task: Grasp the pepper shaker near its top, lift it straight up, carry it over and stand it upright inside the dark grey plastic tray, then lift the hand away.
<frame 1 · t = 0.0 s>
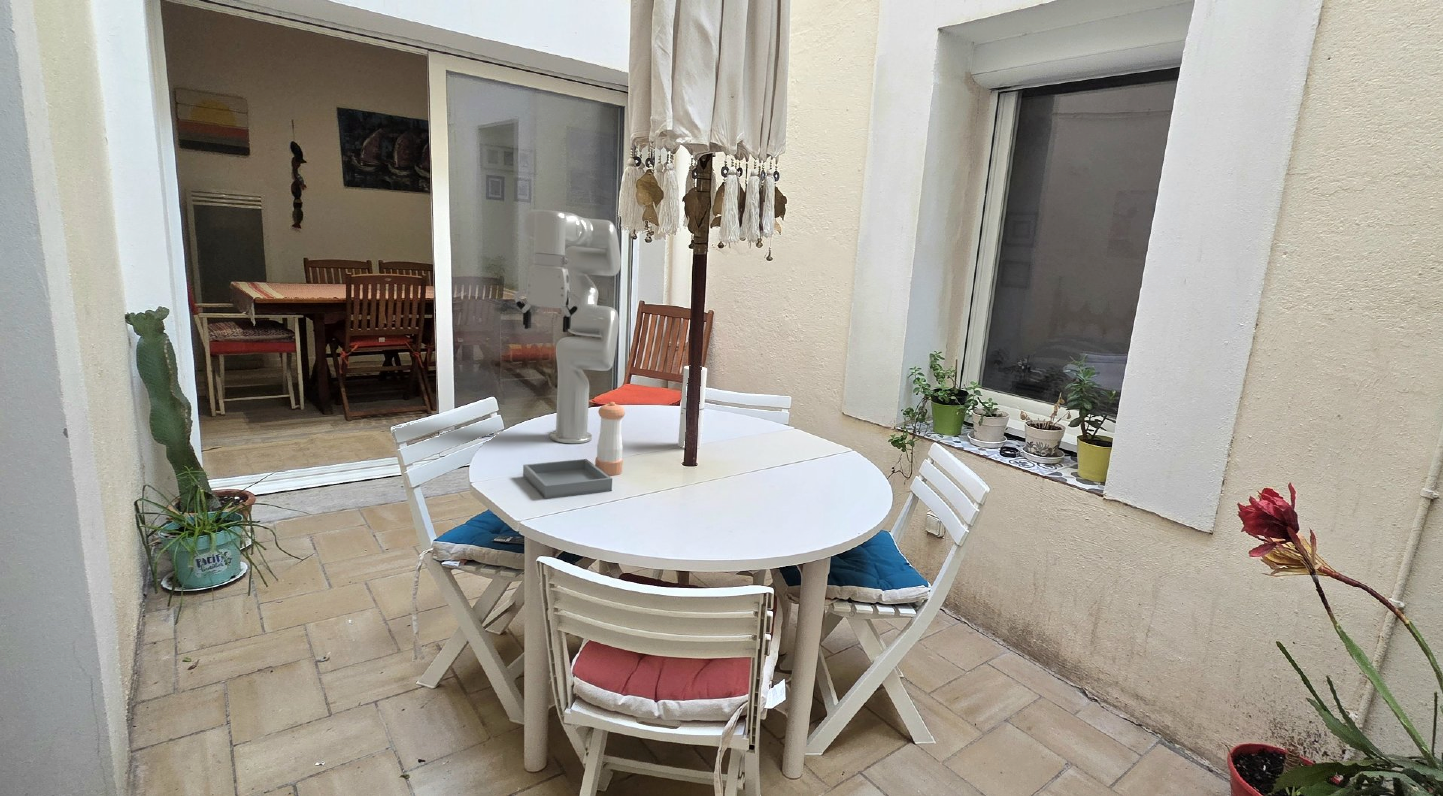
hand: (546, 330, 177), 37 cm above the table, tool pointing down, fingers open, 9 cm apart
pepper shaker: (608, 471, 189), on the table
tray: (566, 483, 177), on the table
cylindrical container: (689, 446, 220), on the table
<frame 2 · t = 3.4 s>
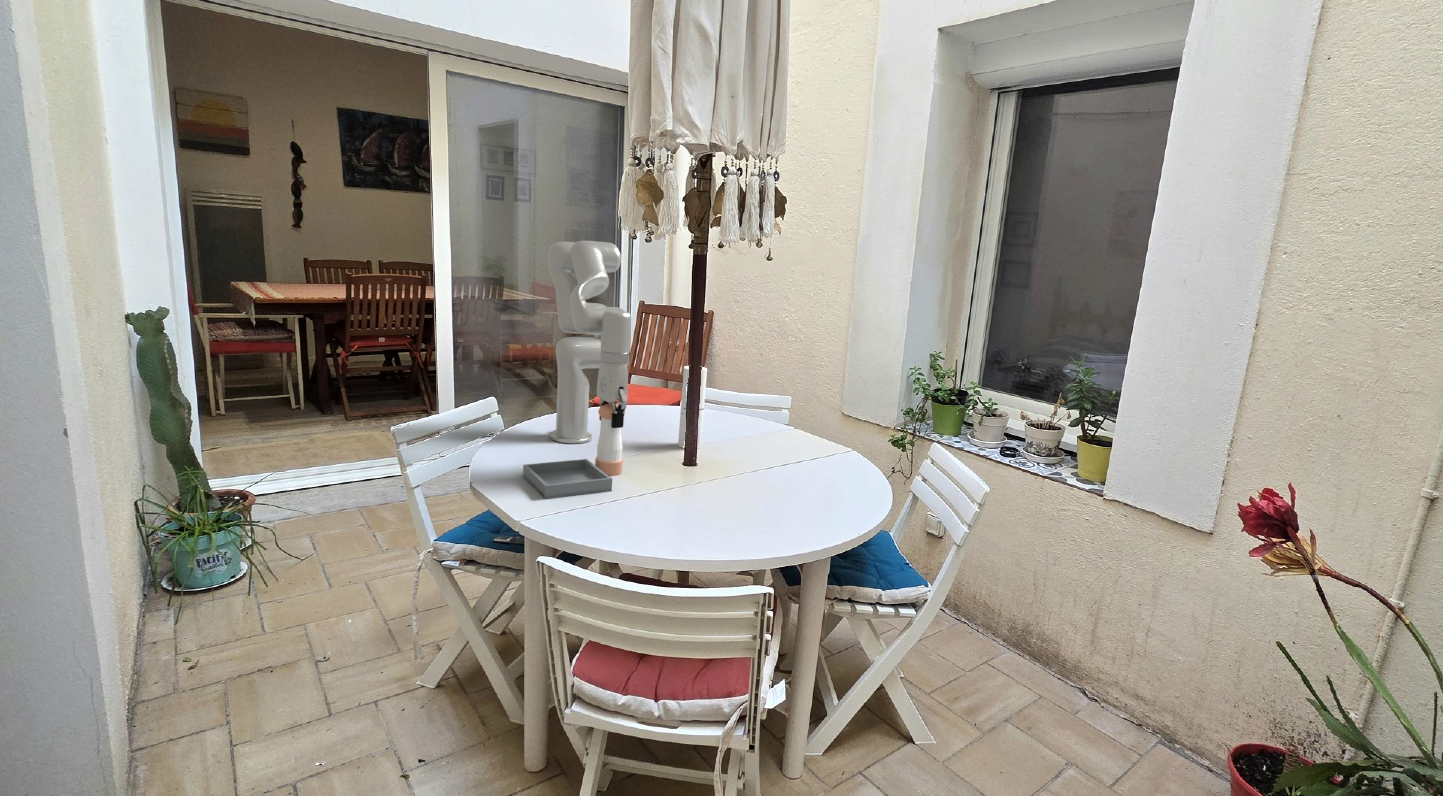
hand: (611, 423, 186), 13 cm above the table, tool pointing down, fingers closed on pepper shaker, 7 cm apart
pepper shaker: (608, 471, 189), on the table, touching gripper
everything else where it was.
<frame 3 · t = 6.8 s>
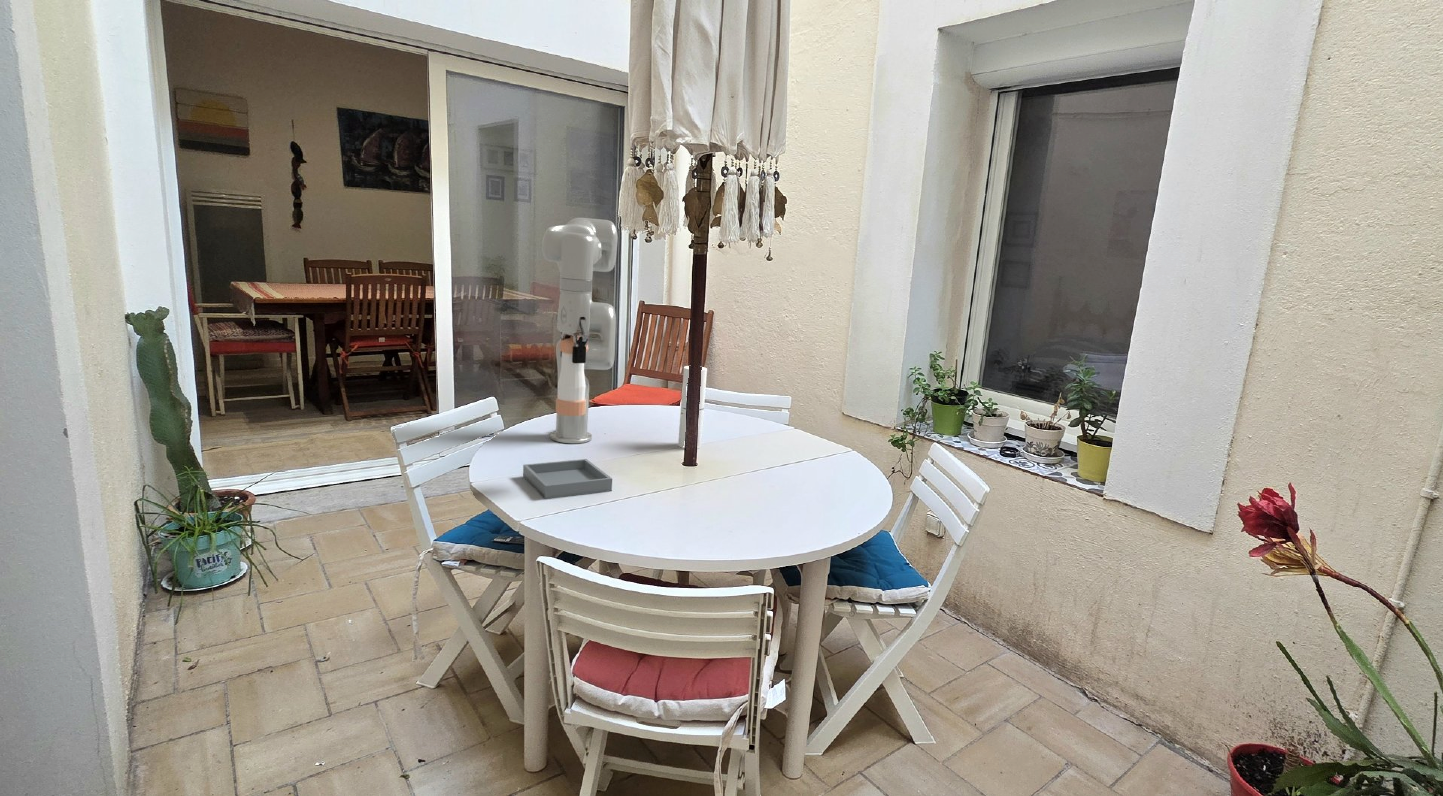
hand: (572, 359, 170), 32 cm above the table, tool pointing down, fingers closed on pepper shaker, 7 cm apart
pepper shaker: (570, 413, 173), point 18 cm above the table, touching gripper
everything else where it was.
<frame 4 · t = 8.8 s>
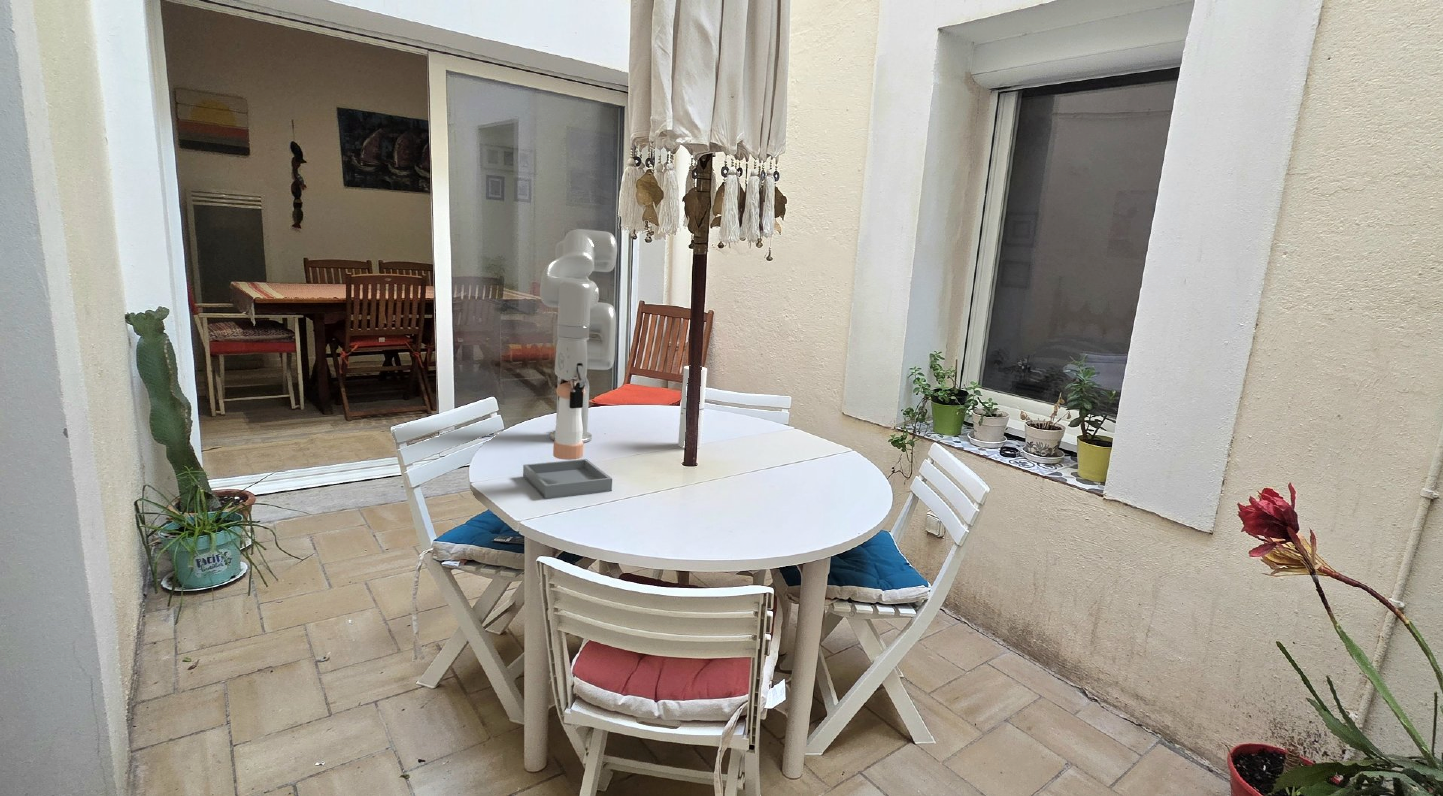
hand: (570, 403, 172), 21 cm above the table, tool pointing down, fingers closed on pepper shaker, 7 cm apart
pepper shaker: (568, 456, 175), point 7 cm above the table, touching gripper
everything else where it was.
when the fingers open (15 cm above the table, at t = 10.5 s): pepper shaker drops 1 cm, resting on tray.
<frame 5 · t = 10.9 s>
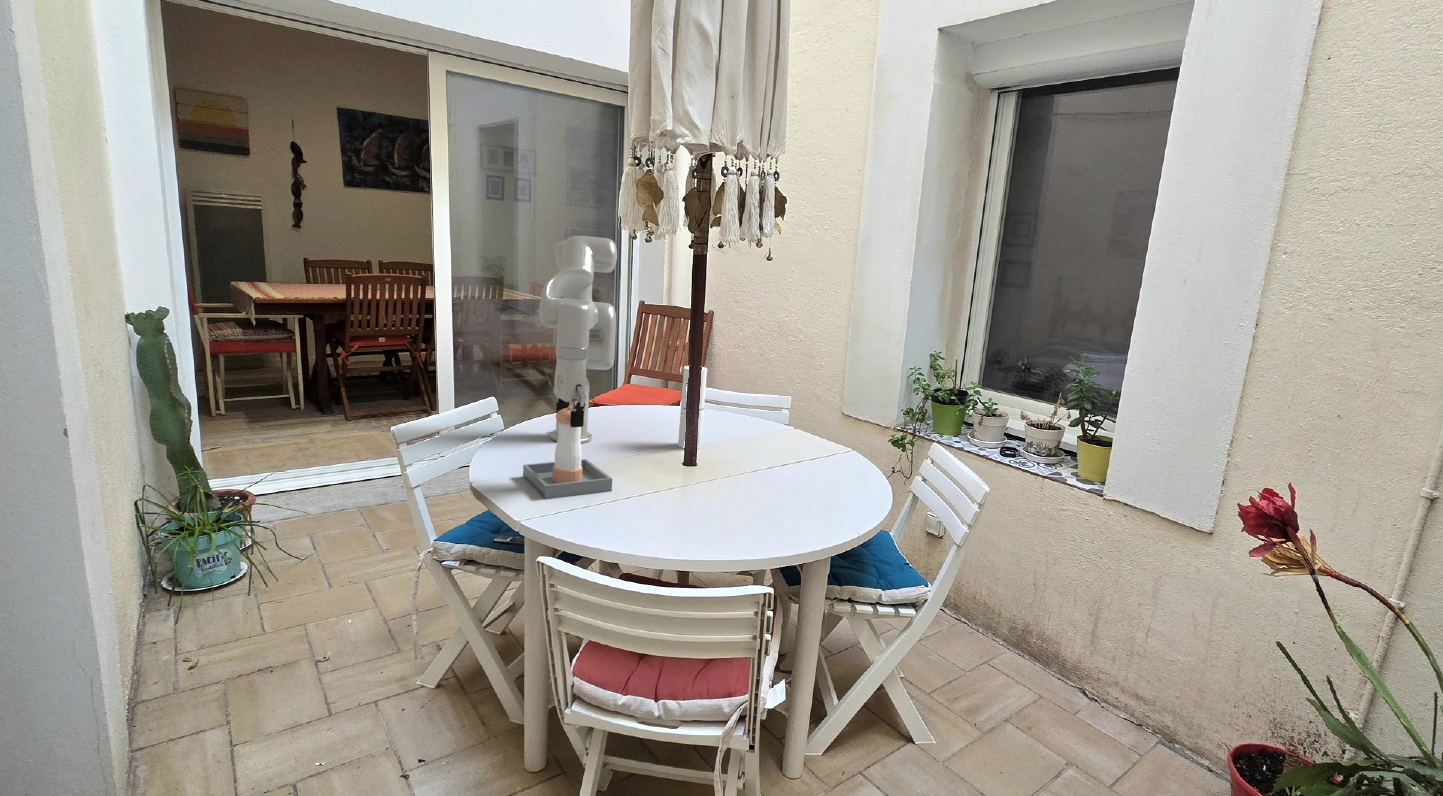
hand: (569, 421, 173), 16 cm above the table, tool pointing down, fingers open, 9 cm apart
pepper shaker: (567, 480, 177), point 1 cm above the table, touching tray
everything else where it was.
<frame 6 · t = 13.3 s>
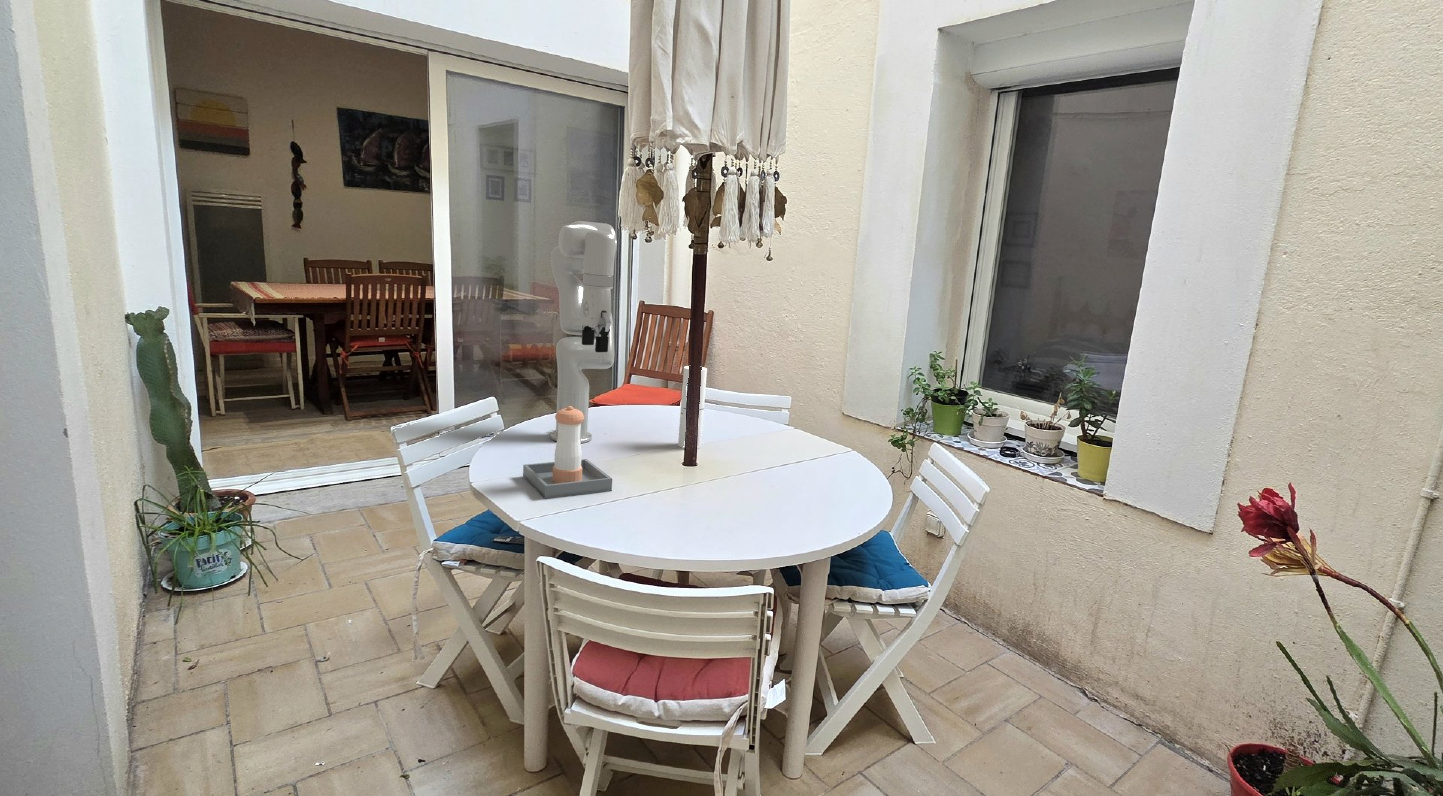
hand: (594, 348, 181), 33 cm above the table, tool pointing down, fingers open, 9 cm apart
nothing on the table moved.
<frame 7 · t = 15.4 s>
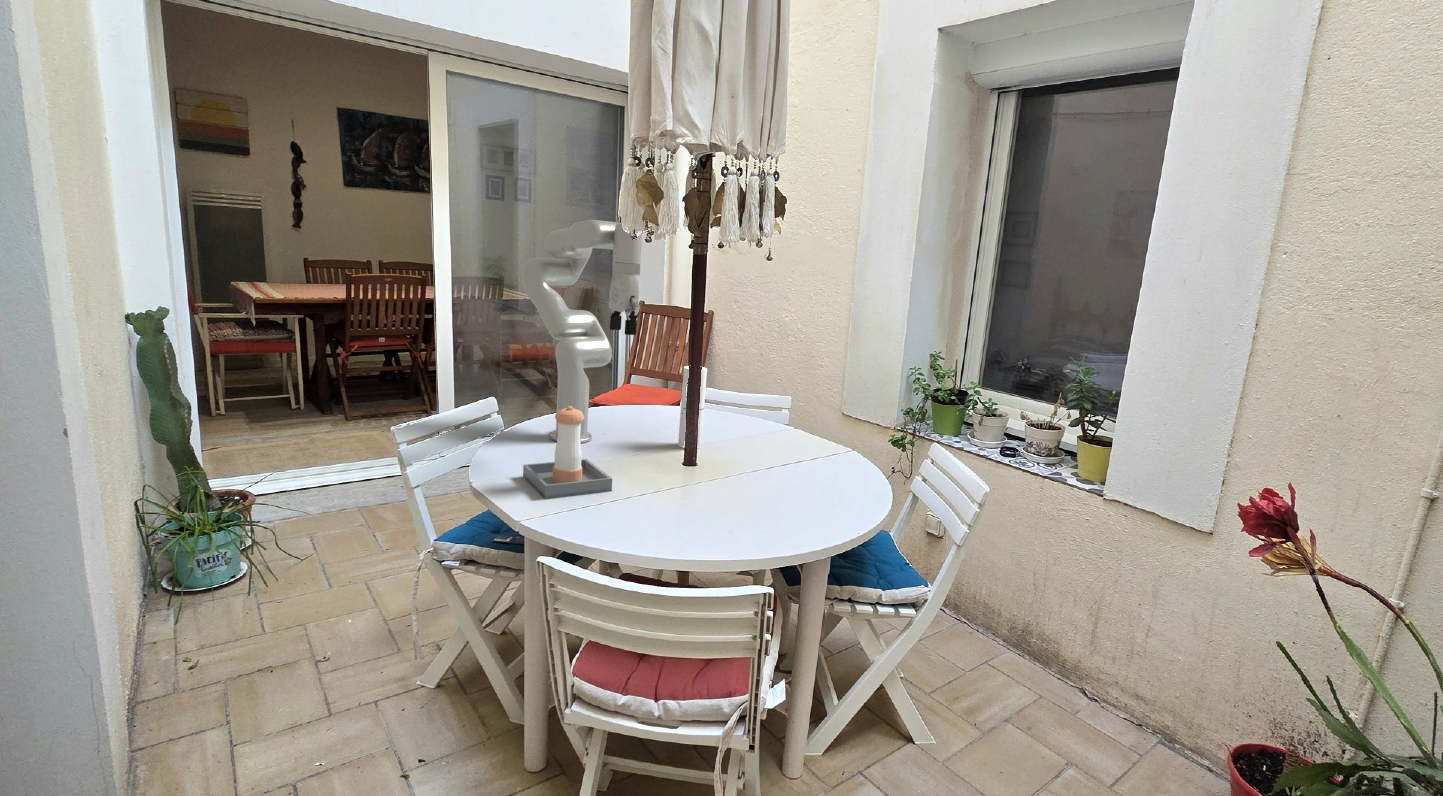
hand: (622, 332, 194), 36 cm above the table, tool pointing down, fingers open, 9 cm apart
nothing on the table moved.
at the end: pepper shaker inside the target area on the tray (0.4 cm from its centre), point 0.6 cm above the tray's base; pepper shaker tilted 0°; the gripper is holding nothing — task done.
